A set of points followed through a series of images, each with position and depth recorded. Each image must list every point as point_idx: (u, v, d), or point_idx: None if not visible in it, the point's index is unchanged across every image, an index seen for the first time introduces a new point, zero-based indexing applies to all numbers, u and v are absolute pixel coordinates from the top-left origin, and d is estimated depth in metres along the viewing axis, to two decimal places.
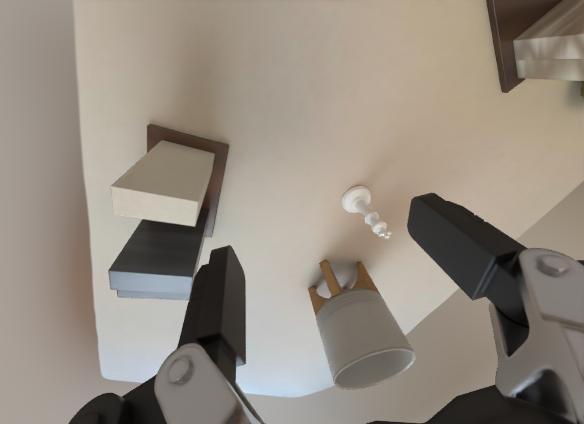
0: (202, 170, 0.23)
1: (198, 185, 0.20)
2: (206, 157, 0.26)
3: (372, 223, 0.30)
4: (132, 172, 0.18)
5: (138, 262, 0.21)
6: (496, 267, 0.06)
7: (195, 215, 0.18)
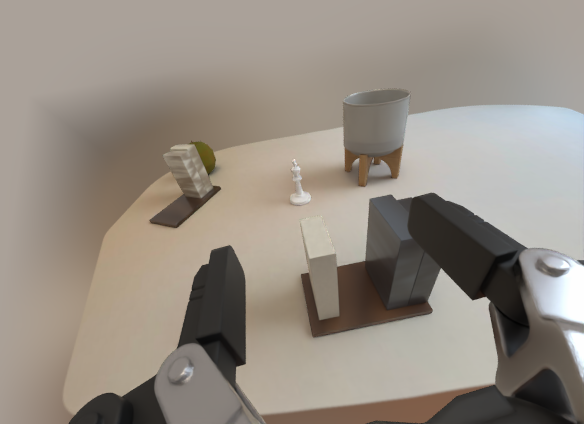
0: (306, 257, 0.28)
1: None
2: None
3: (296, 173, 0.46)
4: (311, 273, 0.22)
5: (389, 236, 0.22)
6: (495, 267, 0.06)
7: (311, 217, 0.25)
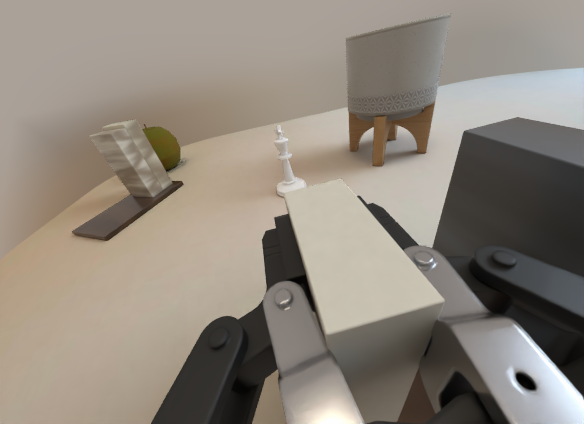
0: None
1: None
2: None
3: (282, 147, 0.31)
4: None
5: None
6: None
7: (315, 185, 0.09)
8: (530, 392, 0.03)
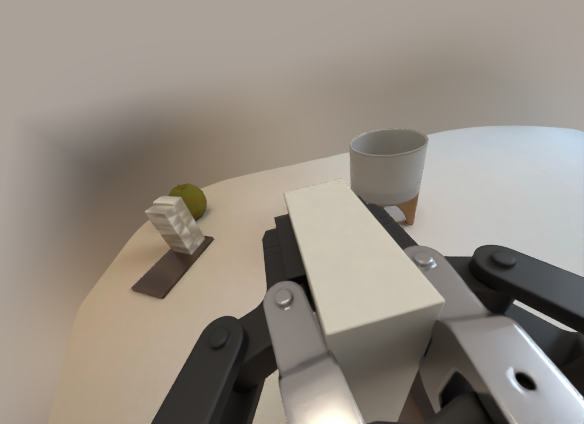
0: None
1: None
2: None
3: None
4: None
5: None
6: None
7: (315, 185, 0.09)
8: (530, 392, 0.03)
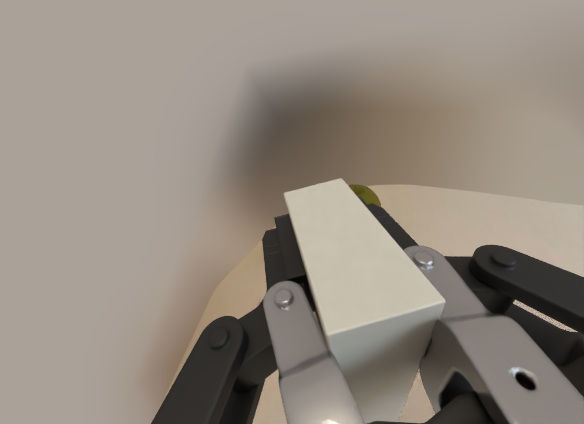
0: None
1: None
2: None
3: None
4: None
5: None
6: None
7: (315, 185, 0.09)
8: (530, 392, 0.03)
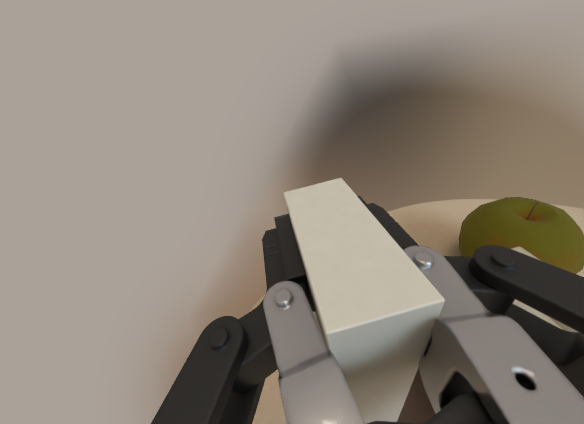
0: None
1: None
2: None
3: None
4: None
5: None
6: None
7: (315, 185, 0.09)
8: (530, 391, 0.03)
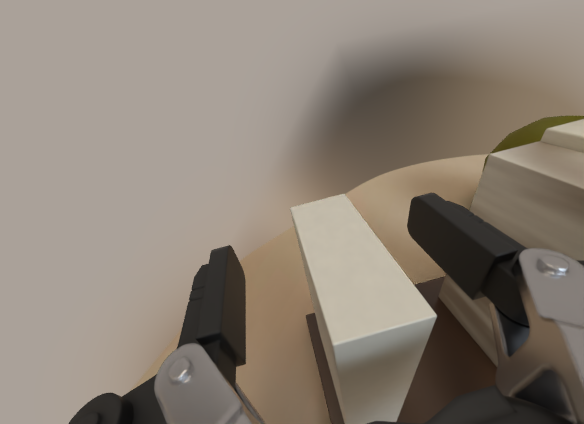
0: (311, 295, 0.13)
1: (301, 255, 0.11)
2: (319, 330, 0.15)
3: None
4: (334, 369, 0.07)
5: None
6: (495, 267, 0.06)
7: (319, 200, 0.10)
8: None
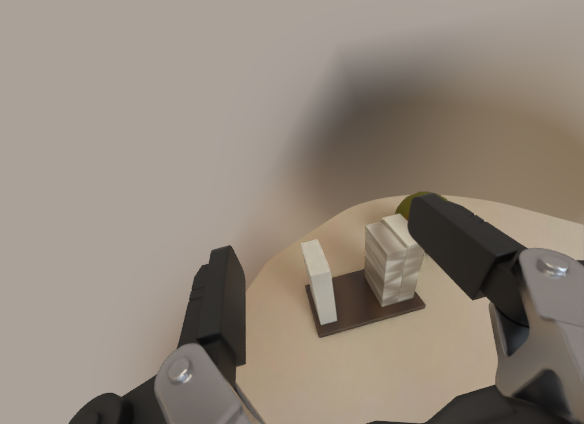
0: (307, 273, 0.34)
1: None
2: None
3: None
4: (312, 286, 0.28)
5: None
6: (496, 267, 0.06)
7: (309, 241, 0.31)
8: None
